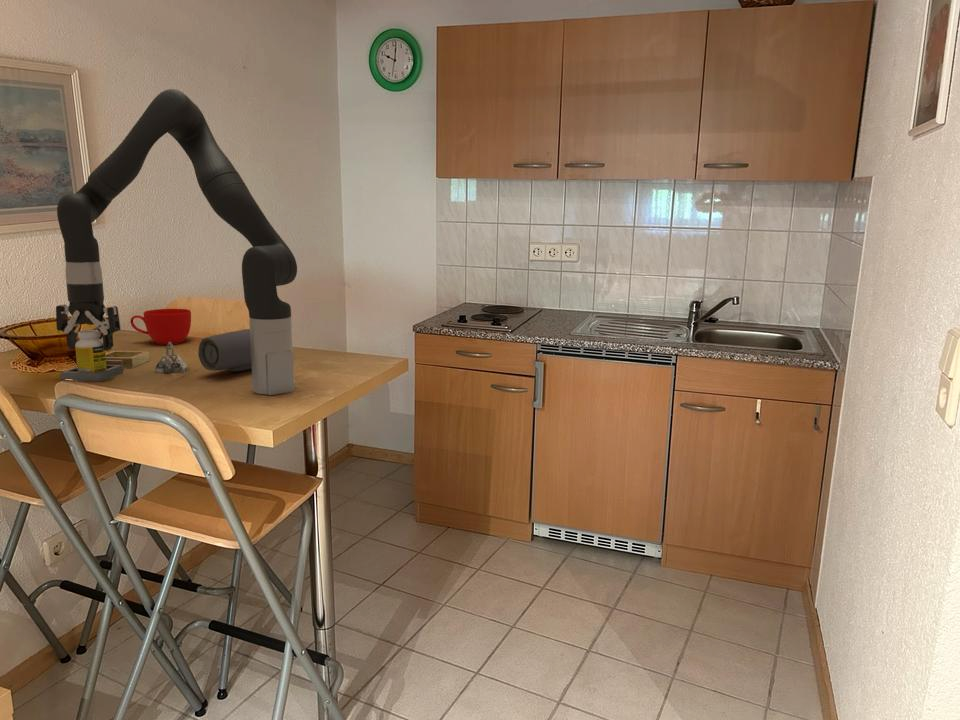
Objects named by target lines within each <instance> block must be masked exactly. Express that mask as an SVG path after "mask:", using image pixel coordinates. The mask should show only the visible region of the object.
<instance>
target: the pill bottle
mask: <svg viewBox="0 0 960 720" xmlns="http://www.w3.org/2000/svg"><path fill="white" fill-rule="evenodd" d="M100 338H101V330H100V329H99V330H98V329H89V330H88V329H87V330H80V331H77V339H79V340H77V342H76V344H75V349H74V350H75V357H76V359H75V360H76V367H77V371H78V372H100V371H103V370H106V369H107V368H106V356H105V354H106V350H104V347H103V339H100Z"/></svg>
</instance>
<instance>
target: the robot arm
mask: <svg viewBox="0 0 960 720" xmlns="http://www.w3.org/2000/svg"><path fill="white" fill-rule="evenodd" d="M167 133H168V134H169V135H170V136H171V137H172V138H173V139H175V141H176V142H177V143H178V145H179V146H180V147H181V148H182V150H183V151H184V152H185V154H186V155H187V156H188V159H189V160H190V162H191V163H192V166H193V170H194V173H195V178H196V182H197V184H198V186H199V188H200V191H201V193H202V194H203V196H204V197H205V199H206V200H207V202H208V203H209V206H210V207H211V208H212V211H214V213H216V215H217V216H219V217H220V219H222V220H223V221H224V222H225V223H226V224H228V225H229V226H231V227H232V228H233V229H234V230H235V231H237V232H238V233H240V234H241V235H242V236H243V237H244V238H245V239H246V240H247V241H248V242H249V244H250V245H251V247H250V248H248V249H247V250H246V251H245V252H244V254H243V257H242V261H241V278H242V286H243V287H242V288H243V295H244V303H245V305H246V308H247V310H248V316H249V317H248V319H249V320H248V321H249V324H248V325H249V329H250V346H251V367H252V369H251V382H252V392H253V393H256V394H259V395H266V396H274V395H280V394H287V393H293V392H295V378H294V377H295V376H294V374H295V373H294V371H295V370H294V352H293V333H292V329H293V328H292V307H291V305H290V303H288V302H286V301H283V300H282V299H281V298H280V297H279V296H278V289H277V287H281V286H286V285H289V284H291V283H292V282H294V280H295V279H296V277H297V273H298V263H297V261H296V258H295V256H294V253H293V252H292V250H291V249H290V247H289V246H288V245H287V244H286V242H285V241H284V240H283V238H282V236H280V234H278V232H277V231H276V230H275V228H274V227H273V225H272V224H271V223H270V222H269V220H268V219H267V217H266V215H265V213H264V212H263V211H262V209H261V207H260V206H259V205H258V203H257V201H256V199H255V198H254V197H253V195H252V193H251V192H250V190H249V188H248V186H247V184H246V183H245V181H244V180H243V178H242V177H241V175H240V173H239V172H238V171H237V169H236V168H235V166H234V165H233V163H232V162H231V161H230V159H229V158H228V156H227V155H226V154H225V153H224V152H223V150H222V148H220V146H219V145H218V143H217V141H216V139H215V136H214V135H213V133H212V130H211V128H210V127H209V125H208V122H207V120H206V118H205V115H204V114H203V111H202V110H201V109H200V108H199V106H198V105H197V104H195V103H194V102H193V101H192V99H191V98H190V97H189V96H187V95H186V94H185V93H184V92H183V91H181V90H179V89H174V88H170V89H165V90H164V91H163V90H162V91H161V92H160V93H159V94H157V95H156V97H154V99H153V100H152V101H151V103H150V104H148V106H147V107H146V109H145V110H144V112H143V113H142V114H141V116H140V117H139V119H138V120H137V121H136V123H135V124H134V125H133V126H132V128H131V129H130V131H129V132H128V133H127V134H126V136H125V137H124V139H122V141H121V142H120V144H118V146H117V147H116V149H114V151H112V152H111V153H110V154H109V155H108V156H107V157H106V158H105V159H104V160H103V161H102V162H101V163H100V164H99V165H98V166H97V167H96V168H95V169H94V170H93V171H92V172H91V173H90V174H89V176H88V177H87V182H86V183H84V184H83V186H82V187H81V188H80V189H79V190H78V191H77V192H75V193H67V194H65V195H63V196H61V198H60V199H59V200H58V203H57V206H56V214H57V215H56V217H57V220H58V222H57V223H58V224H59V228H60V229H59V230H60V233H61V236H62V239H63V243H64V245H63V246H64V247H63V248H64V258H65V259H64V260H65V271H64V272H65V282H66V293H67V301H68V302H69V303H68V305H67V304H60V305H56V307H55V313H56V314H55V318H56V330H57V331H59V332H60V331H61V332H63V333H65V335H66V337H65V338H66V345H67V347H68V348H69V350H76V349H75V344H76V342H77V341H78V333H77V332H75V331H76V330H77V329H78V328H79V326H81V325H90V326H92V325H94V326H95V328H97V329H99V331H100V333H102V341H103V347H104V350H105V351H110V350H112V348H114V338H113V337H114V335H113V334H114V333H117V332H120V331H121V322H120V315H119V307H118V306H115V305H114V306H105V304H104V300H105V293H104V281H103V269H102V267H101V262H100V260H101V259H100V258H101V257H100V248H99V242H98V239H97V238H96V237H95V235H94V231H93V229H94V228H93V224H92V223H93V222H95V221H96V220H97V219H98V218H99V217H100V216H101V215H102V213H104V212H105V210H106V209H107V207H109V205H110V204H111V203H112V201H113V200H114V199H115V198H116V197H118V196H119V195H120V194H121V193H122V192H123V191H124V190H125V189H126V188H127V187H128V186H130V184H132V183H133V181H134V180H135V179H136V178H137V176H138V175H139V173H140V172H141V170H142V168H143V165H144V163H145V162H146V160H147V159H146V158H147V156H148V155H149V152H150V151H151V150H152V148H153V146H154V145H155V144H156V143H157V142H158V140H160V139H161V138H162V137H163V136H164V135H166V134H167ZM69 313H70V315H71V317H70V318H69V316H68V315H69ZM104 315H106V316H107V319H106V317H105V316H104ZM68 319H69V320H68Z"/></svg>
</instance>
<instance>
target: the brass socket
mask: <svg viewBox="0 0 960 720" xmlns="http://www.w3.org/2000/svg"><path fill="white" fill-rule="evenodd" d="M105 356H106V360H123V366H124V369H134V368H136V367H138V366H141V365H143V364H146V363H147V362H150V351H145V350H144V351H143V350H142V351H139V350H138V351H137V350H133V351H132V350H112V351H109V352H107V353H106V352H105Z"/></svg>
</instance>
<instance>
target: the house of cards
mask: <svg viewBox="0 0 960 720" xmlns="http://www.w3.org/2000/svg"><path fill="white" fill-rule="evenodd" d="M165 346H166V347H164V348H165V354H163V355H162V356H161V358H160V360H159V361H157V364H156V365H155V367H154V368H153V369H154V373H163V374H166V373H169V374H172V373H185V372H187V371H188V370H189V365H187V364H186V363H185V361H184V360H183V359H182V358H181V356H180V355H179V354H175V351H174V349H175V346H174V344H172V343H171V342H169V343H168V344H167V345H165ZM169 346H170V347H169ZM169 350H170V351H171V354H169ZM177 359H178V360H177Z"/></svg>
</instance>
